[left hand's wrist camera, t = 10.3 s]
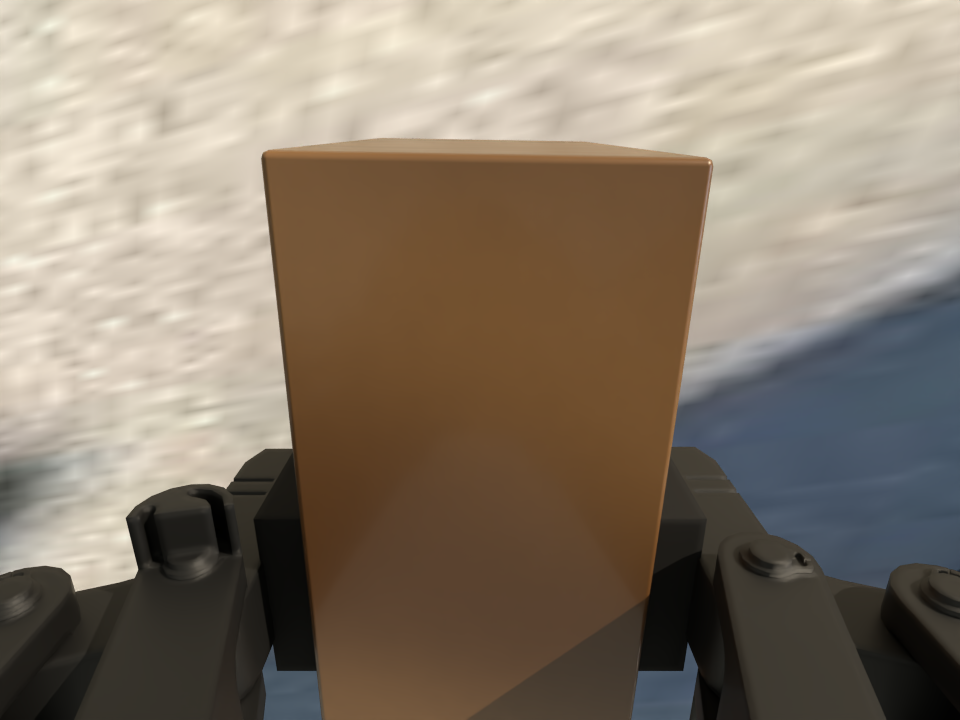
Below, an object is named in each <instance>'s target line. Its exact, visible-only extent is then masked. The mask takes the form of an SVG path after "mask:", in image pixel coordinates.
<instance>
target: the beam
mask: <svg viewBox="0 0 960 720" xmlns="http://www.w3.org/2000/svg"><path fill="white" fill-rule="evenodd" d="M261 161H262V170H263V180H264V189H265V198H266V207H267V217H268V226H269V235H270V244H271V254H272V263H273V272H274V281H275V290H276V300H277V309H278V318H279V327H280V337H281V346H282V355H283V364H284V374H285V383H286V392H287V401H288V411H289V420H290V429H291V438H292V448H293V457H294V466H295V475H296V485H297V494H298V503H299V512H300V522H301V531H302V540H303V549H304V559H305V568H306V577H307V586H308V596H309V605H310V614H311V623H312V633H313V642H314V651H315V660H316V670H317V679H318V688H319V697H320V707H321V716H322V720H631V717H632V710H633V703H634V697H635V690H636V683H637V676H638V670H639V663H640V656H641V649H642V643H643V636H644V629H645V622H646V616H647V609H648V602H649V595H650V589H651V582H652V575H653V569H654V562H655V555H656V548H657V542H658V535H659V528H660V521H661V515H662V508H663V501H664V494H665V488H666V481H667V474H668V467H669V461H670V454H671V447H672V441H673V434H674V427H675V420H676V414H677V407H678V400H679V393H680V387H681V380H682V373H683V366H684V360H685V353H686V346H687V339H688V333H689V326H690V319H691V313H692V306H693V299H694V292H695V286H696V279H697V272H698V265H699V259H700V252H701V245H702V238H703V232H704V225H705V218H706V211H707V205H708V198H709V191H710V185H711V178H712V171H713V163H712V160H710V159H708V158H705V157H698V156H690V155H682V154H675V153H667V152H659V151H652V150H644V149H636V148H629V147H621V146H613V145H606V144H598V143H590V142H573V141H516V140H459V139H402V138H377V139H368V140H358V141H349V142H339V143H330V144H320V145H311V146H302V147H292V148H283V149H273V150H268V151H265V152H263V154H262V158H261Z"/></svg>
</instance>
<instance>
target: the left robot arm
mask: <svg viewBox="0 0 960 720" xmlns="http://www.w3.org/2000/svg"><path fill="white" fill-rule="evenodd" d="M126 521H127V525H128V529H129V533H130V537H131V541H132V545H133V549H134V553H135V558H136V562H137V566H138V572H137V574H136V577H135V578H134V579H131V580H127V581H123V582H120V583H115V584H110V585H106V586H101V587H96V588H92V589H87V590H82V591H77V592H75V590H74V586H73V583H72V579H71V576H70V575H69V574H68V573H66V572H65V571H64V570H63V569H62V568H56V567H50V566H39V567H31V568H23V569H20V570H15V571H14V572H8V573H6V574H3V575H0V720H263V718H264V708H265V699H266V692H265V685H264V678H263V673H262V669H263V667H264V664H265V662H266V659H267V657H268V654H269V652H270V650H271V647H272V645H273V647H274V653H275V660H276V666H277V671H317V670H316V660H315V651H314V642H313V633H312V623H311V614H310V605H309V596H308V586H307V577H306V568H305V559H304V549H303V540H302V531H301V522H300V512H299V503H298V494H297V485H296V475H295V466H294V457H293V449H265V450H263V451H262V452H260V453H259V454H257V455H256V456H254V457H253V458H251V459H250V460H248V461H247V462H245V464H244V465H243V466H242V468H241V469H240V471H239V472H238V473H237V475H236V476H235V478H234V482H231V483H230V485H229V486H228V487H227V489H225V488H223V487H219V486H215V485H211V484H193V485H186V486H181V487H177V488H172V489H169V490H166V491H164V492H161V493H159V494H156V495H154V496H151V497H150V498H148V499H147V500H145V501H143V502H142V503H140V504H139V505H137V506H136V507H135V508H134V509H133V510H132V511H131V512H130V514H129V515H128V516H127V517H126ZM687 643H689V646H690V648H691V651H692V653H693V656H694V658H695V660H696V663H697V665H698V673H697V678H696V684H695V690H694V696H693V702H692V708H691V714H690V720H960V572H958V571H955V570H952V569H951V570H950V569H948V568H945V567H940V566H936V565H927V564H918V563H914V564H908V565H902V566H899V567H898V568H897V569H895V570H894V571H893V572H892V573H891V574H890V578H889V581H888V584H887V588H886V589H881V588H876V587H872V586H867V585H862V584H857V583H853V582H848V581H843V580H839V579H835V578H832V577H828V576H824V573H823V571H822V569H821V567H820V566H819V565H818V563H817V562H816V560H815V559H814V558H813V556H811V555H810V554H809V553H807V552H806V551H805V550H803V549H802V548H801V547H799V546H798V545H796V544H794V543H791V542H789V541H787V540H785V539H783V538H780V537H777V536H773V535H769V534H768V533H767V532H766V531H765V529H764V528H763V526H762V525H761V524H760V522H759V521H758V519H757V518H756V517H755V515H754V514H753V512H752V511H751V510H750V508H749V507H748V505H747V504H746V503H745V501H744V500H743V498H742V497H741V496H740V494H739V493H736V489H735V487H734V486H733V484H732V483H731V482H730V480H727V476H726V475H725V473H724V472H723V471H722V469H721V468H720V466H719V465H718V464H717V462H716V461H715V460H714V459H712V458H711V457H709V456H708V455H706V454H705V453H703V452H702V451H700V450H699V449H697V448H696V447H671V454H670V461H669V467H668V474H667V481H666V488H665V494H664V501H663V508H662V515H661V521H660V528H659V535H658V542H657V548H656V555H655V562H654V569H653V575H652V582H651V589H650V595H649V602H648V609H647V616H646V622H645V629H644V636H643V643H642V649H641V656H640V663H639V670H638V671H683V668H684V662H685V656H686V649H687Z"/></svg>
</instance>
